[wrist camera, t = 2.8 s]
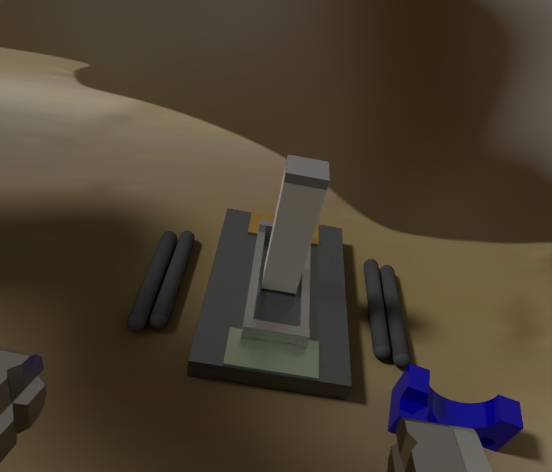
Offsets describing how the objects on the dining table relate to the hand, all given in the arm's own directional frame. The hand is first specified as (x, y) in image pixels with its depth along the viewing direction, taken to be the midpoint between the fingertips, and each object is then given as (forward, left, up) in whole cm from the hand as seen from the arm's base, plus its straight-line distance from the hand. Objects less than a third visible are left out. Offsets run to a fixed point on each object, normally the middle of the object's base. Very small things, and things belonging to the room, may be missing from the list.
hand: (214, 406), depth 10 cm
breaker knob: (-16, +14, -18) cm, 28 cm away
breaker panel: (-16, +14, -21) cm, 30 cm away
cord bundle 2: (-11, +23, -21) cm, 32 cm away
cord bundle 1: (-22, +6, -21) cm, 30 cm away
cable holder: (-1, +20, -21) cm, 29 cm away
